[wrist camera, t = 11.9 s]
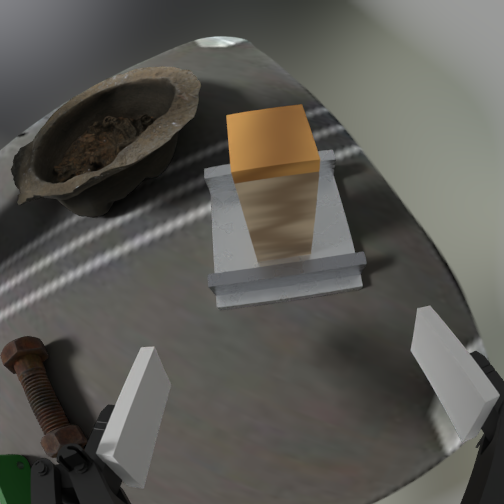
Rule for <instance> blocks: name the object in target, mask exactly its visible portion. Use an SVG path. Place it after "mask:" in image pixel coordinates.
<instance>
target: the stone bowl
mask: <svg viewBox="0 0 504 504" xmlns="http://www.w3.org/2000/svg"><path fill="white" fill-rule="evenodd" d="M200 87H201V84H200V81H198V80H197V77H196V76H195V75H193V72H192V71H190V70H180V68H175V67H164V66H163V67H148V68H139V69H135V70H132V71H129V72H128V73H125V74H123V75H121V74H119V75H117V76H115V77H111V78H108V79H106V80H104V81H102V82H100V83H98V84H96V85H94V86H93V87H91V88H89V89H88V90H86V91H85V92H83V93H81V94H79V95H77V96H75V97H73V98H72V99H71V100H70V101H68V102H67V103H66V104H64V105H63V106H62V107H61V108H59V109H58V110H57V111H56V112H55V113H54V114H53V115H52V116H51V117H50V118H49V120H48V121H47V122H46V124H45V125H44V126H43V127H42V128H41V129H40V131H39V132H38V134H37V135H36V136H35V139H34V140H33V141H32V142H30V143H29V144H27V145H26V146H24V147H22V148H20V150H19V151H18V153H17V154H16V155H15V156H14V160H13V166H12V168H11V172H12V175H13V176H14V178H13V180H14V181H15V185H16V187H17V188H18V189H19V190H20V194H19V195H18V198H19V199H18V201H17V203H18V205H21V204H24V203H25V202H28V201H31V200H34V199H39V198H41V197H44V198H54V199H57V200H58V201H59V202H60V203H61V204H62V205H64V206H65V207H66V208H67V209H69V210H70V211H72V212H73V213H75V214H77V215H79V216H87V217H98V216H101V215H103V214H105V213H107V212H108V211H109V209H110V208H111V206H112V205H113V203H114V201H117V200H121V199H123V198H125V197H126V196H127V195H128V193H130V192H132V191H133V190H134V189H135V188H136V187H137V186H138V185H139V184H140V183H141V182H142V181H143V180H144V179H145V178H146V177H149V178H153V177H158V176H159V175H161V173H162V172H163V171H164V170H165V169H166V168H167V166H168V165H169V163H170V161H171V159H172V157H173V155H174V151H175V148H176V145H177V139H178V131H179V130H180V129H181V128H182V127H183V126H184V125H185V124H186V123H187V122H188V121H189V120H191V119H193V117H194V116H195V113H196V111H197V105H198V103H199V97H198V93H199V90H200Z"/></svg>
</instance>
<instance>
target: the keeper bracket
mask: <svg viewBox="0 0 504 504" xmlns="http://www.w3.org/2000/svg"><path fill="white" fill-rule="evenodd" d="M318 153H319V157H320V170H319V182H318V193H317V204H316V214H315V223H314V232H313V241H312V249H311V254H308V255H302V256H295V257H288V258H281V259H274V260H268V261H261V262H258V261H257V258H256V254H255V251H254V248H253V244H252V241H251V238H250V234H249V231H248V228H247V224H246V221H245V218H244V214H243V211H242V207H241V204H240V201H239V197H238V194H237V191H236V187H235V184H234V181H233V177H232V174H231V167H230V164H226V165H221V166H215V167H210V168H205V169H204V179H205V182H206V184H207V186H208V189H209V191H210V193H211V211H212V233H213V252H214V269H215V273H214V274H208V287H209V288H210V289H211V290H212V292H213V293H214V294H215V295H216V300H217V308H218V309H219V310H226V309H234V308H242V307H250V306H258V305H265V304H273V303H280V302H287V301H293V300H300V299H307V298H313V297H319V296H326V295H332V294H338V293H343V292H349V291H355V290H361V288H362V287H363V284H362V279H361V275H360V274H361V273H362V271H363V269H364V268H365V266H366V264H367V262H366V258H365V254H364V251H363V252H357V253H355V250H354V246H353V242H352V238H351V234H350V231H349V227H348V223H347V220H346V216H345V212H344V209H343V205H342V202H341V199H340V195H339V192H338V189H337V185H336V182H335V179H334V170H335V163H336V158H335V155H334V152H333V150H325V151H318Z"/></svg>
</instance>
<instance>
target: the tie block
mask: <svg viewBox="0 0 504 504" xmlns="http://www.w3.org/2000/svg"><path fill="white" fill-rule="evenodd" d="M226 117H227V130H228V142H229V155H230V167H231V174H232V177H233V181H234V184H235V187H236V191H237V194H238V197H239V201H240V204H241V207H242V211H243V214H244V218H245V221H246V224H247V228H248V231H249V234H250V238H251V241H252V244H253V248H254V251H255V254H256V258H257V261H258V262H261V261H268V260H274V259H281V258H288V257H295V256H302V255H308V254H311V249H312V241H313V232H314V223H315V214H316V204H317V193H318V182H319V170H320V157H319V153H318V150H317V147H316V144H315V141H314V138H313V135H312V132H311V129H310V126H309V123H308V120H307V117H306V114H305V112H304V109H303V106H302V104H301V105H292V106H283V107H275V108H268V109H261V110H254V111H248V112H242V113H236V114H231V115H226Z"/></svg>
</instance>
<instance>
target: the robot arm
mask: <svg viewBox="0 0 504 504" xmlns="http://www.w3.org/2000/svg"><path fill="white" fill-rule="evenodd" d="M411 352H412V353H413V355H414V357H415V358H416V360H417V362H418V363H419V365H420V367H421V368H422V370H423V372H424V373H425V375H426V377H427V379H428V380H429V382H430V384H431V386H432V387H433V389H434V391H435V393H436V394H437V396H438V398H439V400H440V402H441V403H442V405H443V407H444V409H445V411H446V413H447V414H448V416H449V418H450V420H451V422H452V424H453V426H454V428H455V430H456V432H457V434H458V436H459V438H460V439H461V441H462V443H463V442H466V441H468V440H470V439H472V438H474V437H476V436H477V434H478V433H479V431H480V429H482V430H483V432H484V435H483V436H482V438H481V439H480V441H479V442H478V444H477V446H476V448H478V446H479V445H480V447H479V451H478V455H477V458H476V461H475V464H474V468H473V471H472V474H471V477H470V480H469V483H468V485H467V488H466V491H465V493H464V496H463V499H462V501H461V504H504V381H503V379H502V378H501V377H500V376H499V374H498V373H497V372H496V371H495V369H494V368H493V366H492V365H490V363H489V361H488V360H487V359H486V357H485V356H483V355H482V354H480V353H479V352H477V351H474V352H472V353H469V352H468V351H467V350H466V349H465V347H464V346H463V345H462V343H461V342H460V341H459V340H458V338H457V337H456V336H455V335H454V334H453V332H452V331H451V330H450V329H449V327H448V326H447V325H446V324H445V323H444V321H443V320H442V319H441V318H440V317H439V316H438V314H437V313H436V312H435V311H434V310H433V309H432V307H431V306H426V307H422V308H417V314H416V321H415V328H414V334H413V340H412V346H411ZM170 388H171V383H170V381H169V379H168V376H167V374H166V372H165V370H164V367H163V365H162V363H161V361H160V358H159V356H158V354H157V351H156V349H155V347H141V349H140V351H139V353H138V355H137V357H136V360H135V362H134V364H133V366H132V368H131V371H130V373H129V375H128V377H127V380H126V382H125V384H124V386H123V389H122V391H121V393H120V396H119V398H118V400H117V403H116V405H107V406H106V407H105V408H104V409H103V410H102V411H101V413H100V415H99V417H98V419H97V423H96V424H95V426H94V430H93V431H92V433H91V435H90V438H89V440H88V443H87V445H86V447H85V450H83V449H82V447H81V446H79V445H77V444H73V443H70V444H67V445H65V446H63V447H62V448H61V449H60V450H59V451H58V454H57V462H58V463H59V464H58V465H54V464H53V463H52V462H51V461H50V460H48V459H46V458H41V459H39V460H37V461H36V462H35V463H34V464H33V465H32V468H31V504H131V503H130V501H129V499H128V497H127V496H126V494H125V492H124V490H123V489H122V488H121V487H120V485H121V482H122V481H123V482H124V483H125V484H126V485H127V486H131V487H137V488H144V486H145V481H146V477H147V473H148V469H149V465H150V462H151V458H152V454H153V450H154V446H155V442H156V438H157V435H158V431H159V427H160V424H161V420H162V416H163V413H164V409H165V405H166V402H167V398H168V395H169V391H170Z"/></svg>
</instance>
